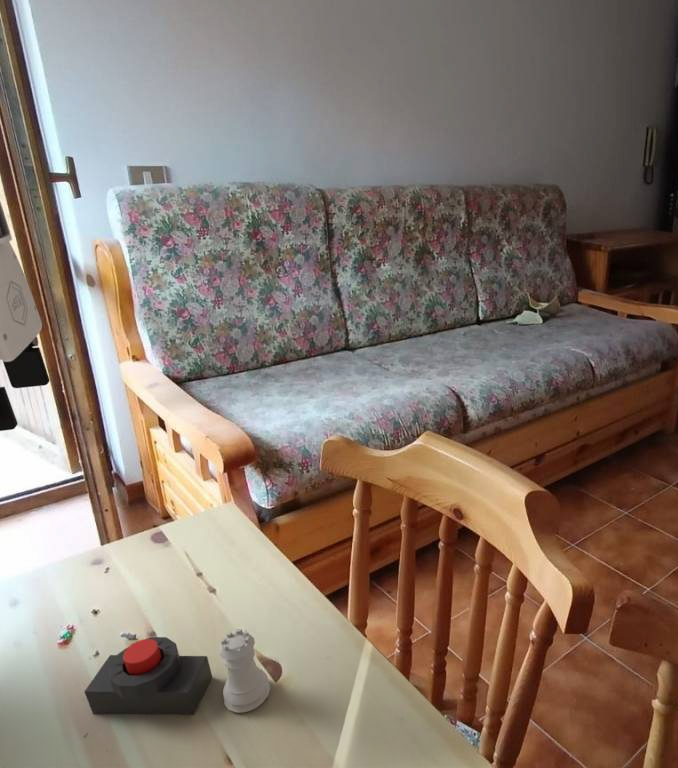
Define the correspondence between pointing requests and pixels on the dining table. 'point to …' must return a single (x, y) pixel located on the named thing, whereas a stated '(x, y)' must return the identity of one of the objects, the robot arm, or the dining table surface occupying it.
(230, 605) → the dining table surface
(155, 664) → the power button
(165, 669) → the power button base
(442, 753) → the dining table surface
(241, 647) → the rook chess piece
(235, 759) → the dining table surface
